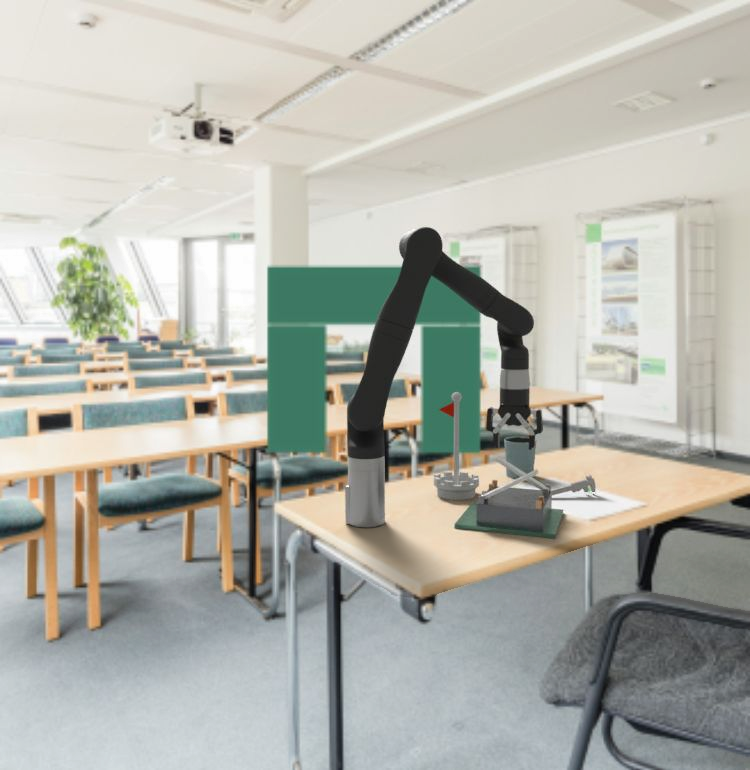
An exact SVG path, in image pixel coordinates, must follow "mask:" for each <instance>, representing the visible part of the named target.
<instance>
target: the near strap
mask: <svg viewBox="0 0 750 770" xmlns="http://www.w3.org/2000/svg"><path fill="white" fill-rule="evenodd" d="M538 473H539V470H538V469H537V468H536V469H534V471H532V472H530V473H528V474H525V475H523V476H521V477H519V478H517V479H512V480H511V481H509V482H507V483H505V484H503V485H501V486H498V488H496V489H494V490H492V491H490V492H488V493H486V494H482V493H481V496H485V499H487V498H489V497H491V496H493V495H495V494H497V493H499V492H501V491H504V490H506V489H508V488H513V487H514V486H517V485H518V484H520V483H522V482H525V481H526V480H527V479H529V478H531V477H532V478H534V477H536V476H538Z"/></svg>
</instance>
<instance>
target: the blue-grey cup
mask: <svg viewBox="0 0 750 770" xmlns="http://www.w3.org/2000/svg"><path fill="white" fill-rule="evenodd" d="M537 441H538V440H537V439H536V438H535V446H534V448H532V450H529V436H519V435H518V436H515V435H514V436H508V437H505V438H504V439H503V443H504V453H505V454H504V455H505V456H504V457H505V458H504V460H506V461H507V462H509V463H510V464H512V465H514V466H515V467H517V468H518V469H520V470H521V471H523V472H524V473H526V474H528V473H530V472H532V471H534V470H535V459H536V447H537ZM505 474H506V477H508V478H510V477H511V478H510V479H514V478H516V479H517V478H519V477H520V476H518V475H517V474H515V473H514V472H512V471H510V470H509V469H507V468H506V467H505Z"/></svg>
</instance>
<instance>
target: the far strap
mask: <svg viewBox="0 0 750 770" xmlns="http://www.w3.org/2000/svg"><path fill="white" fill-rule="evenodd" d="M494 461H495V462H496V463H498V464H499V465H501V466H503V467H504V468H505V469H506V468H507V469H509V470H510V471H512V472H514V473H515V474H517V475H518V476H520V477H521V476H523V475H525V474H526V473H524V472H523V471H521V470H520V469H518V468H517V467H515V466H514V465H512V464H510V463H509V462H507V461H506V459H505V458H503V457H501V456H499V455H498V456H497V457H496V458H495V460H494ZM525 481H526V482H528V483H529V484H531V485H533V487H535V488H537V489H538V490H542V491H543V488H546V489H549V490H550V488H549V487H546V486H545V484H543V483H542V482H540V481H538V480H537V479H536V478H534V477H531V478H529V479H527V480H525Z"/></svg>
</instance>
